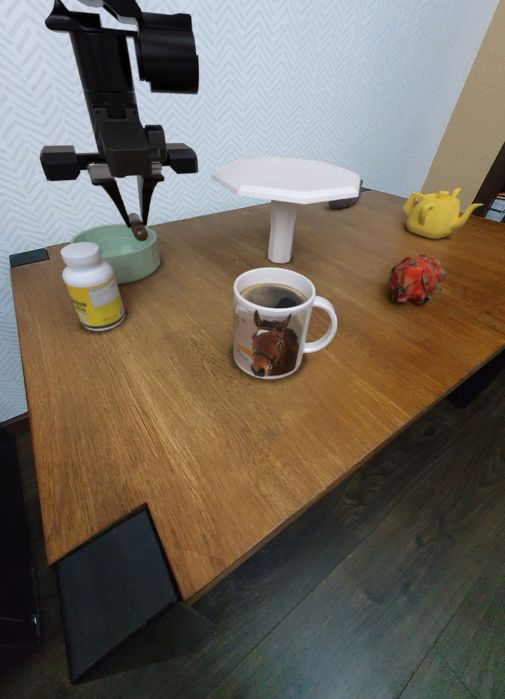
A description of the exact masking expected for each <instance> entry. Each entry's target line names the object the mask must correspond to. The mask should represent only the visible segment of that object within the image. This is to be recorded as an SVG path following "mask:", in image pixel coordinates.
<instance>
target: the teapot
mask: <svg viewBox="0 0 505 699" xmlns="http://www.w3.org/2000/svg"><path fill="white" fill-rule="evenodd" d="M461 190H462V188H461V187H457V188H455V189H453V191H452V192H451V194H450V191H448V190H438V192H437V193H436V192H433V193H432V192H431V193H427V194H423V193H420V192H417V191H413V192H411V193H410V195H409V196H408V198H407V200H406V202H405V203H404V205H403V206H402V209H403V210H404V211H405V213H406V215H407V218H406V221H405V225H406V229H407V231H409V232H411V233H413V234H416V235H419V236H422V237H425V238H427V239H428V238H429V239H441V238H445V237H447V236H449V235H450V234H451V233H453V231H455V230H456V229H459V228H461V227H462V226H463V225H464V224H465V223H466V222H467V220H468V219H469V217H470V216H471V214H472V213H473V211H474V210H475V209H477V208H479V207H481V206H483V205H484V203H472V204H470V205H469V206H468V207H467V208H466V209H465V211H464V212H463V213H462V215H461V216H460V212H461V210H460V208H461V201H460V199H459V198H457V196H458V194H459V193H460V192H461ZM416 200H419V201H418V202H417V203H416V204H415V202H416ZM414 204H415V205H414Z"/></svg>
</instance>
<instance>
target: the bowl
mask: <svg viewBox="0 0 505 699" xmlns="http://www.w3.org/2000/svg"><path fill="white" fill-rule="evenodd" d="M145 228H146V230H147V232H148V238H147V239H146V240H145V241H138V240H137V239H136V238H135V237H134V235H133V233H132V230H131V228H128V227H127V225H126V223H111V224H110V223H109V224H103V225H97V226H95V227H90V228H87V229H85V230H82V231H80V232H78V233H77V234H75V235H74V236H73V237H72V238H71V239H70V241H69V245H70V244H73V243H79V242H91V243H95V244H97V245H98V246H99V248H100V251H101V254H102V258H101V259H102V260H104V261H106V262H107V263H109V264H110V265H111V267H112V269H113V272H114V275H115V279H116V282H117V285H121V284H128V283H133V282H137V281H139V280H142V279H145V278H147V277H148V276H150V275H152V274H153V273H154V272H155V271H157V270H158V268H159V266H160V265H161V260H162V259H161V254H160V248H159V242H158V234H156V232H155V231H154V230H152V229H150V227H147V226H145Z"/></svg>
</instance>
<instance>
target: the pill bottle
mask: <svg viewBox="0 0 505 699" xmlns="http://www.w3.org/2000/svg"><path fill="white" fill-rule="evenodd" d="M60 255H61V258H62V260H63V262H64V265H67V266H65V268H64V269H63V271H62V280H63V282H64V285H65V287H66V289H67V292H68V294H69V297H70V299H71V303H72V304H73V306H74V309H75V311H76V313H77V317H78V318H79V321H80V323H81V326H83V327H84V328H85V329H87V330H90V331H95V332H102V331H107V330H112V329H114V328H116V327H118V326H119V325H120V324H122V322H123V321H124V319H125V317H126V311H125V307H124V303H123V301H122V296H121V293H120V291H119V290H120V289H119V287H118V284H117V282H116V279H115V275H114V272H113V269H112V267H111V265H110V264H109V263H107V262H106V261H104V260H102V259H101V258H102V254H101V251H100V248H99V246H98V245H97V244H95V243H91V242H79V243H73V244H70V243H69V244H67V245H65V246H64V247H62V249H60Z"/></svg>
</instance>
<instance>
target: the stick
mask: <svg viewBox="0 0 505 699" xmlns="http://www.w3.org/2000/svg"><path fill="white" fill-rule="evenodd" d="M128 217H129V220H130V225H131V230H132V233H133V235H134V237H135V238H136V239H137V240H138V241H145V240H146V239H147V238H148V232H147V230H146V228H145V227H146V226H144V224H143V222H142V218H141V216H140V215H139V214H137V213H135V212H131V213H128Z"/></svg>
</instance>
